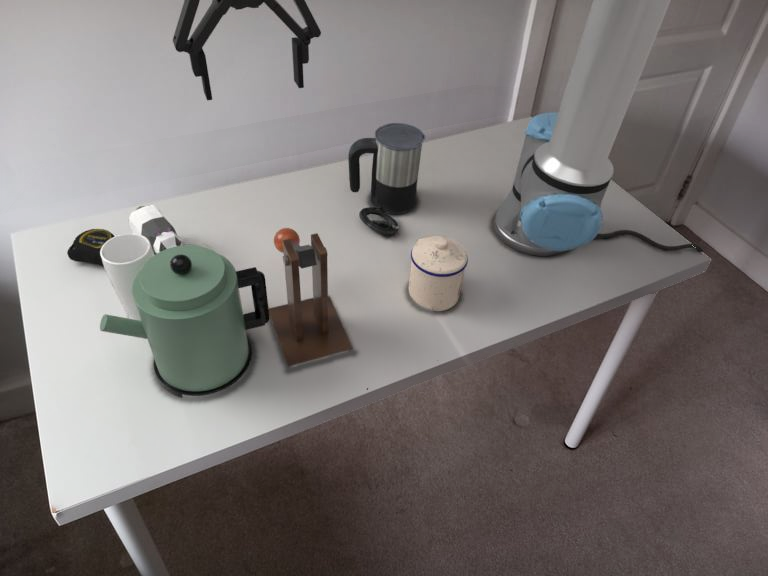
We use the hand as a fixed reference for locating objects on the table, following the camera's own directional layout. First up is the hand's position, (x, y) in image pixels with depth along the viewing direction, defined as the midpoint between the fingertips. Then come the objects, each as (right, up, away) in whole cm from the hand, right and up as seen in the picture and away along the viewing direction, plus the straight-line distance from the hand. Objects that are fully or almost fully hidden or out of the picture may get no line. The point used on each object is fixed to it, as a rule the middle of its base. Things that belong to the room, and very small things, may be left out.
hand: (254, 90), depth 89 cm
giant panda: (-19, -25, +14) cm, 34 cm away
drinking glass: (-17, -35, +4) cm, 39 cm away
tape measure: (-30, -25, +14) cm, 41 cm away
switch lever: (+6, -25, -1) cm, 26 cm away
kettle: (-7, -40, 0) cm, 41 cm away
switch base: (+8, -36, +4) cm, 37 cm away
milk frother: (+20, -15, +27) cm, 37 cm away
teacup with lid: (+27, -30, +13) cm, 42 cm away
